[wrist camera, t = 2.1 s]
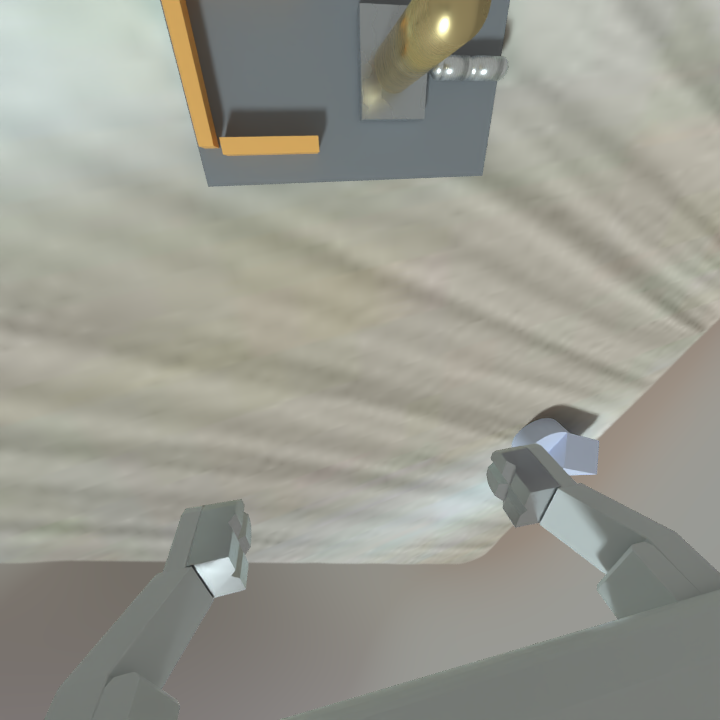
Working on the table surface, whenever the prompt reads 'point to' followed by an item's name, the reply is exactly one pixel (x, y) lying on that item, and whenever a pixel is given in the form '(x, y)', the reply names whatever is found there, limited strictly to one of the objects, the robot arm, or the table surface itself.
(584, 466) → the wedge on round base
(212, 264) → the table surface
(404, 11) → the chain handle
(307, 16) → the rail board
